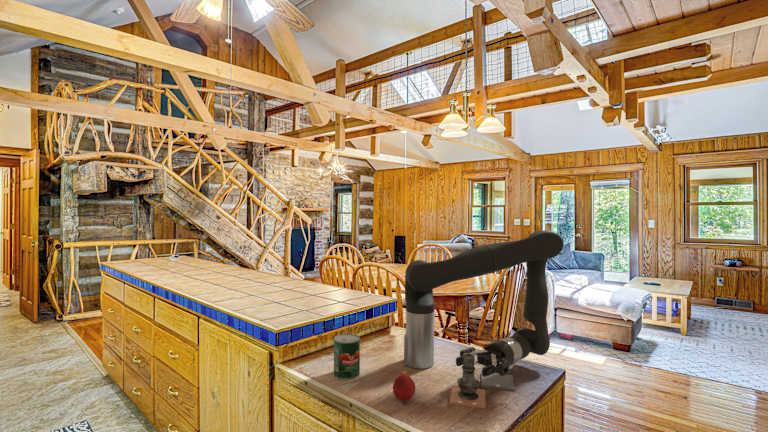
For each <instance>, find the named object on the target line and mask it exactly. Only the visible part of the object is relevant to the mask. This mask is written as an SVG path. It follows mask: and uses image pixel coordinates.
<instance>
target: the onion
mask: <svg viewBox="0 0 768 432" xmlns="http://www.w3.org/2000/svg"><path fill="white" fill-rule="evenodd" d="M392 392H393V394H394V397H395V398H396V399H397V400H398V401H400V402H401V403H408V401H410V400H411V399H412V398H413V397H414V395H415V393H416V384H415V381H414V380H413V378H411V377H410V376H409V375H408V372H407V371H406V370H405V371H404V370H403V371H402V373H401V374H400V375H399V376H397V377H396V378H395V380H394V382H393V384H392Z"/></svg>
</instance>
